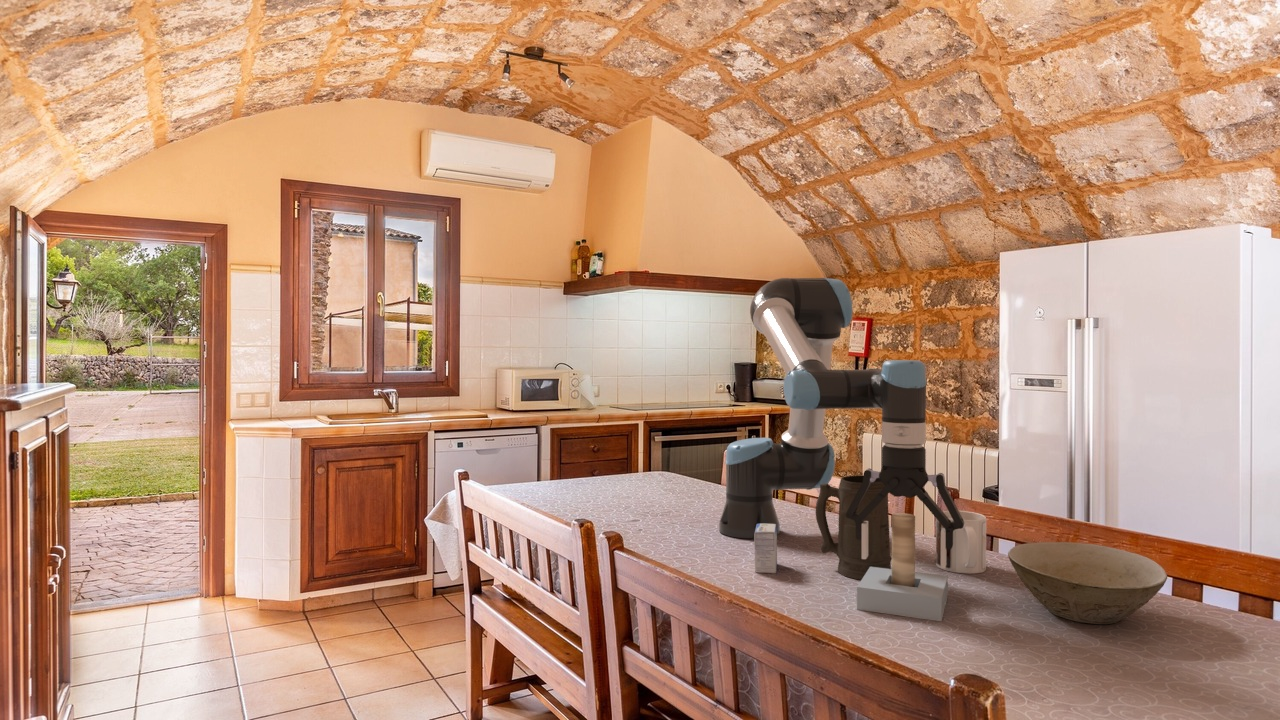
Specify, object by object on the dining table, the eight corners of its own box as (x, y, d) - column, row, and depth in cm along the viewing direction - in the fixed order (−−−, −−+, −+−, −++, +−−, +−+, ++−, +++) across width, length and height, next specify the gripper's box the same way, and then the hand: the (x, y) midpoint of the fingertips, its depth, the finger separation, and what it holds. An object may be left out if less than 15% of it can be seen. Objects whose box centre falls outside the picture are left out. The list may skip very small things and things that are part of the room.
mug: (996, 567, 162) (996, 515, 162) (975, 580, 153) (976, 524, 153) (946, 558, 169) (946, 508, 169) (924, 569, 160) (924, 517, 160)
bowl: (1171, 652, 117) (1171, 586, 116) (999, 623, 129) (1000, 564, 129) (1163, 607, 137) (1163, 551, 136) (1015, 586, 149) (1016, 534, 149)
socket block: (870, 587, 149) (870, 566, 149) (947, 597, 143) (947, 575, 142) (856, 609, 136) (856, 586, 136) (941, 621, 130) (941, 597, 130)
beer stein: (896, 568, 161) (889, 473, 161) (895, 582, 151) (888, 481, 151) (821, 566, 166) (815, 474, 166) (816, 580, 156) (809, 482, 156)
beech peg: (893, 598, 142) (893, 512, 142) (916, 601, 140) (916, 514, 140) (890, 604, 138) (890, 516, 138) (913, 608, 137) (913, 518, 136)
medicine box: (776, 574, 158) (776, 532, 157) (754, 573, 158) (754, 531, 158) (777, 563, 165) (777, 523, 165) (756, 562, 166) (756, 522, 166)
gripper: (829, 443, 141) (829, 558, 141) (977, 451, 130) (977, 576, 130) (838, 439, 148) (838, 549, 148) (979, 446, 137) (979, 564, 137)
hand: (903, 562), depth 139 cm, fingers open, 13 cm apart
